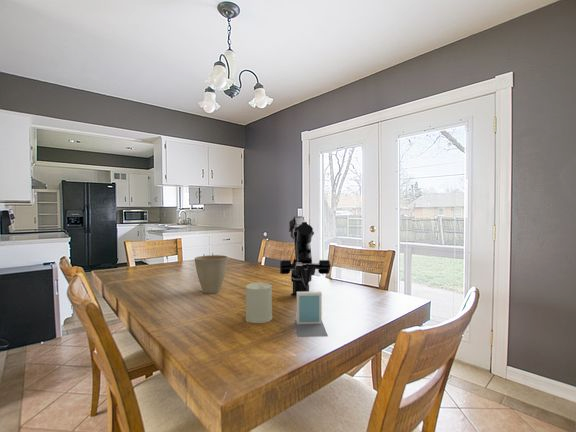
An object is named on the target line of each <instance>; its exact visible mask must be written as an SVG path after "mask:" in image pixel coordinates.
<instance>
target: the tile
mask: <svg viewBox="0 0 576 432" xmlns="http://www.w3.org/2000/svg"><path fill="white" fill-rule="evenodd" d="M322 296H323V295H322V291H320V290H319V291H318V290H317V291H310V290H309V292H297V296H296V320H297V324H322V322H323V319H322V318H323V317H322V312H323V311H322V309H323V307H322Z"/></svg>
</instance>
